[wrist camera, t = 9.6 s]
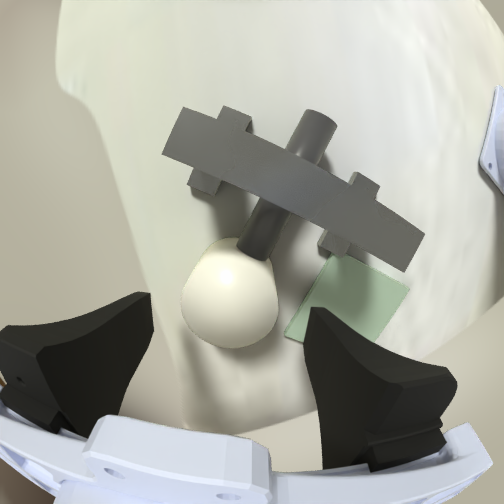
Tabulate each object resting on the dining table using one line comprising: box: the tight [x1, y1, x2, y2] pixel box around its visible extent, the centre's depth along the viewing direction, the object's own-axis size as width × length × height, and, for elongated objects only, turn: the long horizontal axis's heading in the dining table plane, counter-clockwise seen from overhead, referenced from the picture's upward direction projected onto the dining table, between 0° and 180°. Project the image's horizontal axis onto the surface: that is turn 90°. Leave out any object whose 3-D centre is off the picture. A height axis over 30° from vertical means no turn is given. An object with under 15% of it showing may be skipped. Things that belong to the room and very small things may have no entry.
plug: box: [181, 109, 337, 348], centre depth 12 cm, size 4×12×4 cm, turn 153°
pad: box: [284, 253, 410, 343], centre depth 16 cm, size 6×6×1 cm
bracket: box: [162, 106, 425, 272], centre depth 11 cm, size 9×4×6 cm, turn 65°
